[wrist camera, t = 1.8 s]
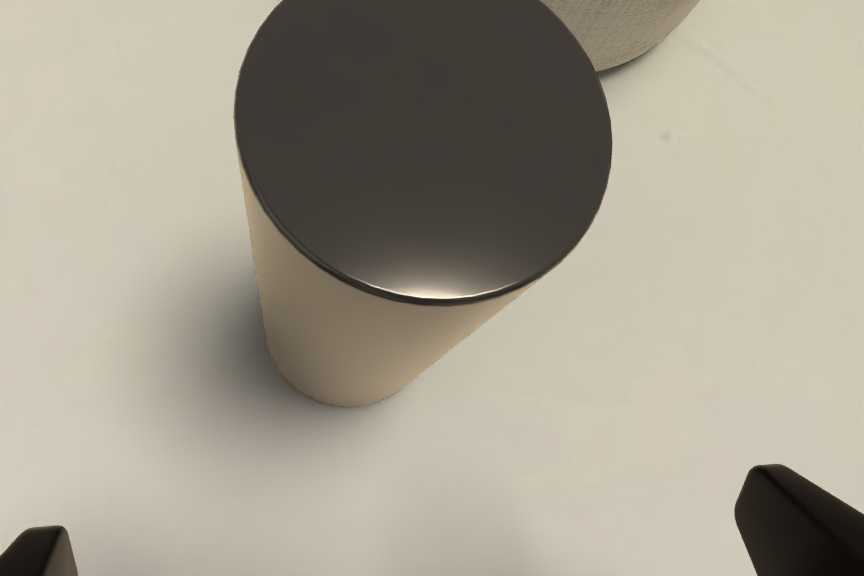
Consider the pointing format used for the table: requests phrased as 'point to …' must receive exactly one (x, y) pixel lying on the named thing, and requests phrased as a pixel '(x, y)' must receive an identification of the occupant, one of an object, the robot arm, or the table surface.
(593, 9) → the planter
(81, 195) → the table surface
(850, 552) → the robot arm
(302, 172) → the dark grey cylinder
